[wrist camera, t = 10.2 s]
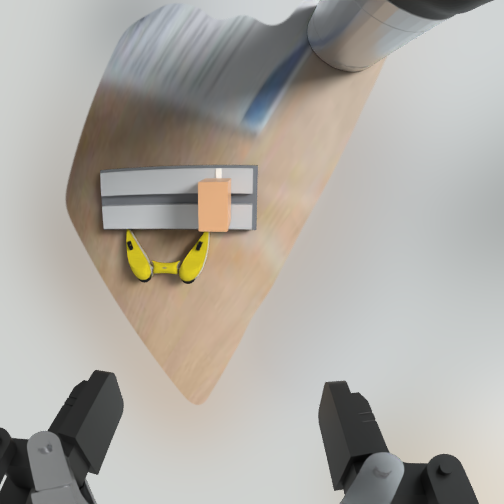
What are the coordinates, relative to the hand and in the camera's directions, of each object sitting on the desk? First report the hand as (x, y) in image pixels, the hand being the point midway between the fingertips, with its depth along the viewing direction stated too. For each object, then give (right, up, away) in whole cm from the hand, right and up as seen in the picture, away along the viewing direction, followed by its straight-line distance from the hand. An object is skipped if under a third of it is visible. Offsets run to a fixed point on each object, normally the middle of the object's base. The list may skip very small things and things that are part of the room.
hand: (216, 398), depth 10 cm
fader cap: (-2, +11, +22) cm, 25 cm away
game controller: (-8, +6, +26) cm, 28 cm away
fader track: (-7, +12, +24) cm, 27 cm away
